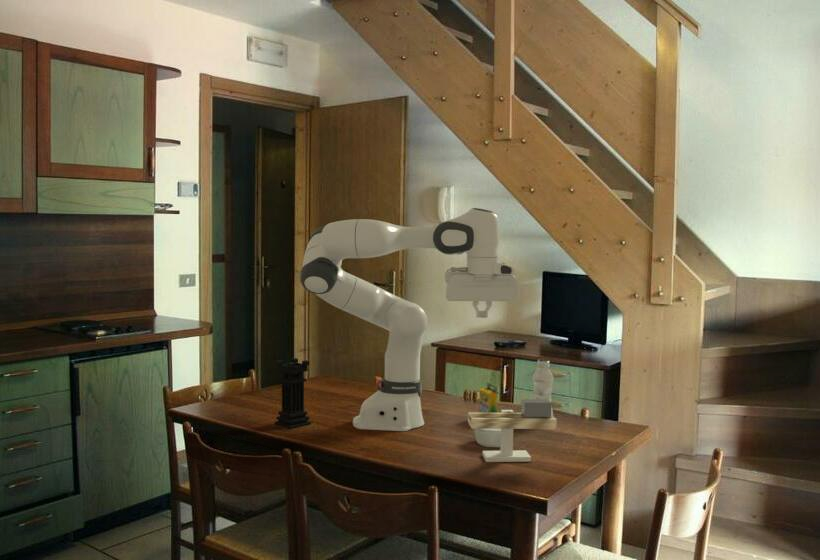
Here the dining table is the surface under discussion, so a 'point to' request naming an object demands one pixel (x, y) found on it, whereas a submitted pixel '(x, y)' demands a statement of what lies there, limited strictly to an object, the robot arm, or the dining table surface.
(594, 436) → the dining table surface
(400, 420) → the robot arm
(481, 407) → the crayon box
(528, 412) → the block
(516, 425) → the beam
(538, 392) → the plastic bottle
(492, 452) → the stand
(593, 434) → the dining table surface
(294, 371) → the chess piece
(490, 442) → the ramekin
